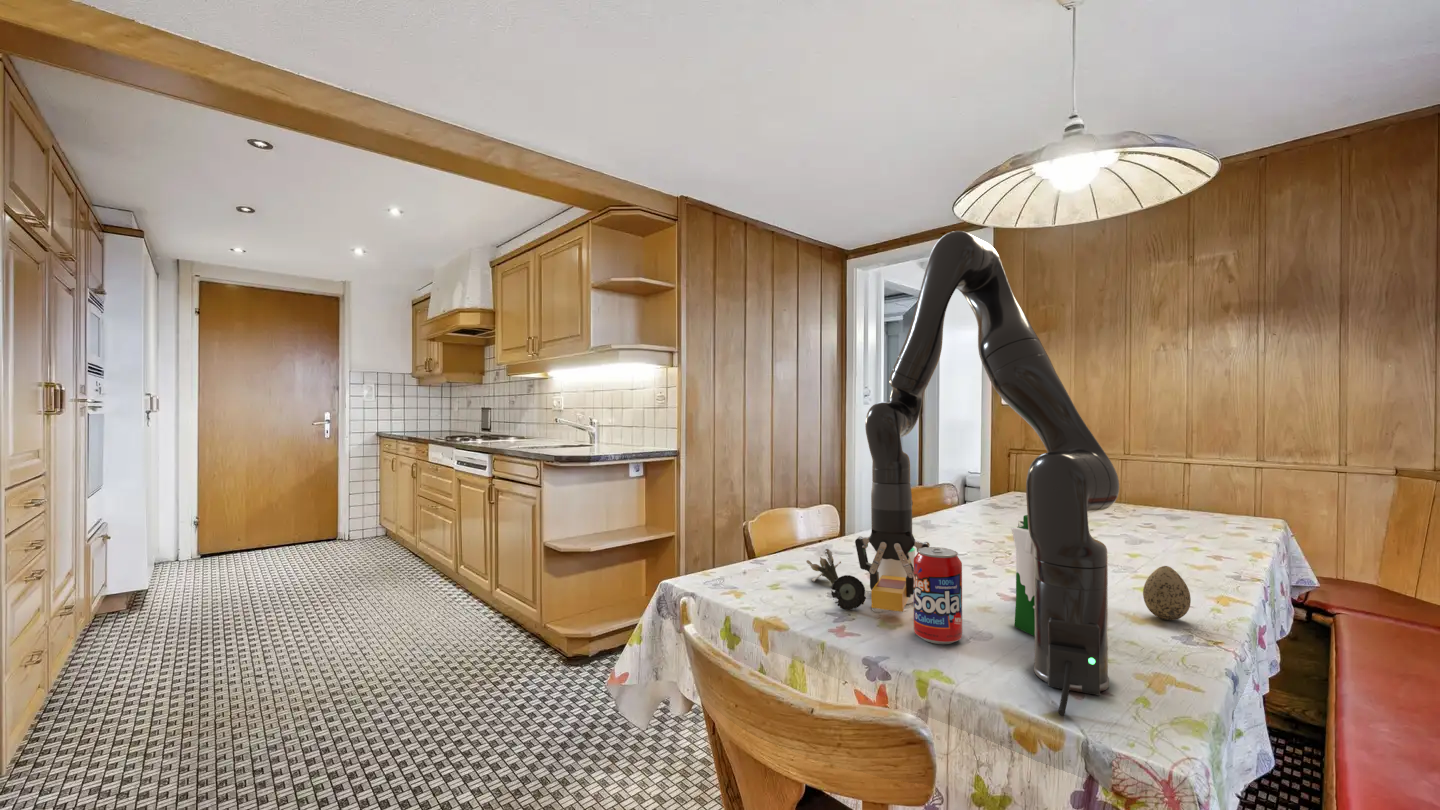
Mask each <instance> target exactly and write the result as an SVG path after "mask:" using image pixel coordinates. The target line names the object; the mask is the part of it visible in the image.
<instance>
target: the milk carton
mask: <svg viewBox="0 0 1440 810" xmlns="http://www.w3.org/2000/svg"><path fill="white" fill-rule="evenodd" d="M1022 521H1023V526H1022V527H1018V526H1015V527H1011V533H1012V534H1011V535H1012V539H1013V544H1014V548H1015V610H1014V622H1013V623H1014V625H1013V626H1014V628H1016V629H1017V630H1020V631H1022V632H1025V633H1026V634H1028V635H1031V636H1033V637H1035V551H1034V545H1033V543H1032V540H1031V538H1030V535H1029V530H1028V516H1027V514H1024V515H1023V518H1022Z"/></svg>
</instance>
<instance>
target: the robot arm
mask: <svg viewBox="0 0 1440 810" xmlns="http://www.w3.org/2000/svg"><path fill="white" fill-rule="evenodd" d="M956 290H958V291H959V292H960V293H961V294H962V296H963V297H964V298H965V300H966V301H967V304H968V305H969V307H970V309H971V310H972V313H973V314H974V316H975V319H976V323H977V347H978V348H977V349H978V356H979V358H980V361H981V364H982V366H983V368H984V371H985V373H986V374H987V377H988V379H989V381H990V383H991V386H992V387H993V389H994V390H995V392H996V393H997V394H998V395H999V397H1000V399H1002V400H1003V401H1004V402H1005V403H1006V404H1007V405H1008V406H1009V407H1010V408H1011V409H1012V410H1013V411H1014V412H1015V413H1016V414H1017V415H1018V416H1020V417H1021V418H1022V419H1023V420H1024V421H1025V422H1026V423H1027V424H1028V425H1029V426H1030V427H1031V428H1032V429H1033V430H1034V432H1035V433H1036V434H1037V436H1038V437H1039V439H1040V440H1041V442H1042V444H1043V446H1044V448H1045V450H1046V452H1045V453H1042V454H1040V455H1038V456H1037V457H1035V458H1034V459H1033V461H1032V462H1031V464H1030V465H1029V467H1028V470H1027V475H1026V482H1025V494H1026V495H1025V496H1026V497H1025V498H1026V499H1025V500H1026V513H1027V514H1026V515H1027V516H1028V530H1029V535H1030V538H1031V540H1032V543H1033V545H1034V551H1035V636H1034V663H1033V672H1034V674H1035V676H1037V678H1039V679H1040V680H1042V681H1044V682H1045V683H1046V684H1048V685H1047V686H1049V687H1050V688H1054V689H1055V688H1056V689H1061V696H1060V700H1059V701H1060V702H1059V707H1058V711H1057V714H1058V715H1059V716H1061V717H1064V716H1065V714H1066V709H1067V704H1068V699H1069V693H1070V691H1073V692H1078V693H1083V694H1090V695H1095V696H1100V695H1101V692H1103V691H1106V690H1108V689H1109V687H1110V678H1109V638H1108V637H1109V634H1108V633H1109V629H1108V628H1109V626H1108V625H1109V623H1108V619H1109V618H1108V615H1109V614H1108V613H1109V612H1108V610H1109V609H1108V608H1109V605H1108V602H1109V601H1108V600H1109V599H1108V596H1109V595H1108V579H1109V578H1108V577H1109V576H1108V574H1109V573H1108V572H1109V571H1108V569H1109V568H1108V567H1109V566H1108V564H1109V563H1108V562H1109V561H1108V559H1109V558H1108V557H1109V555H1108V548H1107V546H1106V544H1104V543H1103V542H1102V541H1100V540H1098V539H1095V538H1094V537H1093V536H1092V534H1091V533H1090V527H1089V516H1088V514H1092V513H1097V512H1102V511H1105V510H1107V509H1109V508H1111V507H1112V506H1114V504H1115V503H1116V501H1117V499H1118V498H1119V497H1118V496H1119V493H1120V480H1119V476H1118V473H1117V470H1116V468H1115V466H1114V465H1113V462H1112V461H1111V459H1110V458H1109V456H1108V454H1107V453H1106V452H1105V451H1104V449H1103V447H1102V446H1101V444H1100V443H1099V442H1098V440H1097V439H1096V437H1095V436H1094V434H1093V433H1092V431H1091V430H1090V428H1089V427H1088V426H1087V424H1086V423H1085V421H1084V419H1083V418H1082V416H1081V415H1080V414H1079V411H1078V410H1077V408H1076V406H1075V404H1074V402H1073V401H1072V398H1071V397H1070V395H1069V393H1068V391H1067V389H1066V388H1065V386H1064V384H1063V382H1062V380H1061V378H1060V376H1058V375H1059V374H1058V373H1057V371H1056V369H1055V367H1054V365H1053V363H1052V361H1051V359H1050V356H1049V355H1048V353H1047V351H1046V349H1045V347H1044V345H1043V343H1042V342H1041V340H1040V338H1039V336H1038V335H1037V333H1036V331H1035V330H1034V328H1033V326H1032V324H1031V322H1030V321H1029V319H1028V317H1027V315H1026V314H1025V312H1024V310H1023V308H1022V307H1021V306H1020V303H1019V302H1018V299H1016V297H1015V295H1014V292H1013V290H1012V287H1011V284H1010V282H1009V279H1008V276H1007V274H1006V271H1005V268H1004V266H1003V262H1002V260H1001V258H1000V255H999V253H998V252H997V250H996V249H995V248H994V246H992V245H991V244H990V243H989V242H987V241H985V240H983V239H980V238H979V237H976V236H974V235H973V234H971V233H968V232H966V231H963V230H955V231H954V230H953V231H950V232H947V233H946V234H944V235H942V237H940V238H939V239H938V241H937V242H936V243H935V245H934V246H933V248H932V250H931V252H930V255H929V257H928V261H927V264H926V267H925V270H924V274H923V279H922V283H921V286H920V290H919V293H918V297H917V300H916V305H915V308H914V312H913V316H912V319H911V323H910V326H909V329H908V331H907V334H906V337H905V340H904V342H903V345H902V347H901V350H900V352H899V354H898V356H897V358H896V360H895V362H894V365H893V367H892V370H891V372H890V375H889V377H888V382H889V386H890V387H891V388H892V389H891V392H890V396H889V398H888V401H878V402H876V403H874V404H872V406H871V407H870V408H869V409H868V411H867V413H866V418H865V435H866V439H867V444H868V448H869V452H870V457H871V459H872V462H871V463H872V467H871V470H872V471H871V474H872V475H871V477H872V479H871V480H872V482H871V483H872V484H871V493H870V503H871V504H870V507H871V508H870V509H871V514H870V515H871V519H870V520H871V521H870V522H871V532H870V535H869V536H865V537H863V536H858V537H857V538H856V539H855V541H854V544H855V549H856V553H857V558H858V559H857V560H858V564H859V568H860V570H863V571H866V572H868V574H869V588H870V591H871V590H872V589H873V587H874V586H875V585H876V583H877V582H878V581H879V572H877V570H878V568H879V565H880V563H881V561H882V559H894V560H899V561H901V563H902V566H903V567H904V569H905V571H906V574H907V577H906V597H911V595H913V593H914V567H913V565H912V563H911V559H910V557H909V554H908V553H909V551H910V550H911V549H912V548H914V547H915V549H916V552H917V553H918V549H919V548H924V547H931V544H930V542H929V541H924V542H923V541H919V540H916V539H915V537H914V534H913V503H914V502H913V494H912V493H913V492H912V487H911V459H910V456H909V455H908V454H907V453H906V452H904V451H903V446H902V439H901V438H904V437H907V436H908V435H909V434H910V433H911V432H912V431H913V430H914V428H915V426H916V425H917V422H918V419H919V417H920V414H921V409H922V406H923V400H924V397H925V396H924V395H925V391H926V389H927V388H928V385H929V383H930V381H931V379H932V377H933V375H934V373H935V370H936V368H937V366H938V364H939V361H940V358H941V354H942V349H943V340H944V339H943V337H944V326H945V325H944V324H945V317H946V312H947V309H948V307H949V304H950V301H951V299H952V297H953V294H954V293H955V291H956ZM869 544H870V545H871V546H872V548H873V549H874V552H875V551H876V552H877V553H876V555H875V554H874V558H873V561H872V563H870V562H869V558H868V553H867V550H866V549H867V548H868V547H869Z"/></svg>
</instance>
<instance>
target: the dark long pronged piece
mask: <svg viewBox="0 0 1440 810" xmlns="http://www.w3.org/2000/svg"><path fill="white" fill-rule="evenodd" d="M824 554H825V555H827V556H826V558H823V557H822V556H819V564H817V563H812V561H810V560H806V561H805V562H806V564H807V565H808V566H810V568H811V570H813V571H815V572H819V574H818V575H816V576H815V577H813V578H811V581H812V582H816V581H817V580H818V579H819V578H820V577H824V578H826V579H827V580H828V581H829V582H830V583H831V584H832V585H831V591H830V592H831V593H830V594H831V597H832V598H833V600H835V598H836V599H837V601H835V602H834V604H836V606H837V607H839V608H840V609H842V610H845V611H852V610H853V609H857V608H859V607H861V605H862V606H863V605H865V604H864V603H865V602H866V599H867V597H866V587H865V584H863V582H862V581H861V580H860V579H859V578H858V577H856V576H853V575H850V574H848V575H846V574H845V575H841V576H839V575H838V573H837V570H836V568H837V567H838V566H839V565H840V564H842V561H841V560H839V562H838V563H836V564H834V563H835V562H834V556H833V551H831V550H830V549H829V548H825V550H824Z"/></svg>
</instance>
